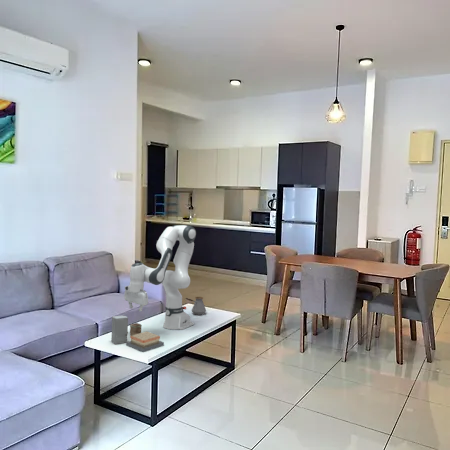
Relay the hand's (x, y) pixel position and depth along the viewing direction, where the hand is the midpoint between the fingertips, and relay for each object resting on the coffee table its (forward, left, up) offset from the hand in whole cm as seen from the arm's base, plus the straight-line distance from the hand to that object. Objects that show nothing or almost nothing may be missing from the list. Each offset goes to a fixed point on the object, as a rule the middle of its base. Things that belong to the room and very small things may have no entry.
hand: (135, 309), depth 267 cm
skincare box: (+13, +1, -18) cm, 22 cm away
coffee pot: (-64, -10, -18) cm, 68 cm away
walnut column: (0, 0, -18) cm, 18 cm away
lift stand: (+6, +17, -18) cm, 25 cm away
